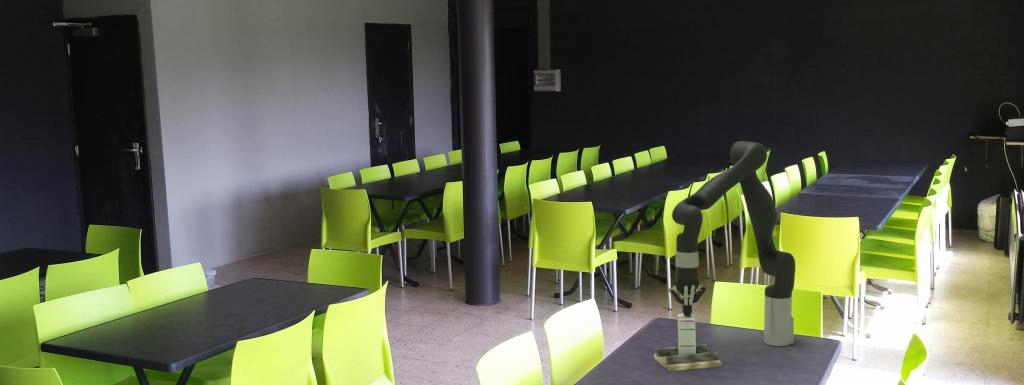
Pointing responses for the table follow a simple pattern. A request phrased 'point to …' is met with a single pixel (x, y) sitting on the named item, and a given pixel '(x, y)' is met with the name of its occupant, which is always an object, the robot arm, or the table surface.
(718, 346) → the table surface
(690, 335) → the syrup box
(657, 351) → the rail board
